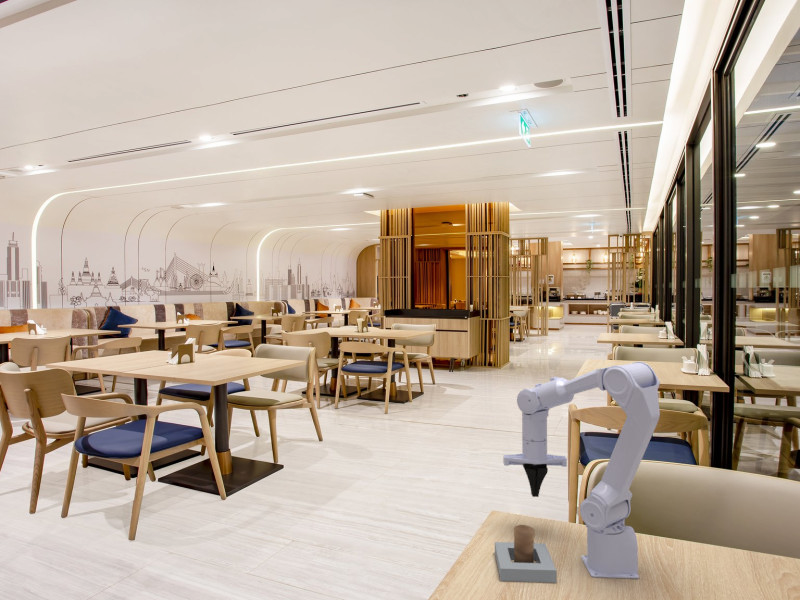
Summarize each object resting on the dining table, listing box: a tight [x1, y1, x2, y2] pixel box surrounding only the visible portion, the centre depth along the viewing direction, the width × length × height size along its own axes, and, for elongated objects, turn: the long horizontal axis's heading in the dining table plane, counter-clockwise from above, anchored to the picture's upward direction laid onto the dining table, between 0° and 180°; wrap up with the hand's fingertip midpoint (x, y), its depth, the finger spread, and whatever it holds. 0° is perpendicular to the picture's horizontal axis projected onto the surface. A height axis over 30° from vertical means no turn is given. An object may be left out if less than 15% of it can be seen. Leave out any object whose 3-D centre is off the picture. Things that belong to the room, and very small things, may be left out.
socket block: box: [494, 541, 557, 584], centre depth 108 cm, size 11×11×2 cm
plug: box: [513, 524, 535, 563], centre depth 109 cm, size 4×4×8 cm
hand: (534, 495), depth 123 cm, fingers closed
